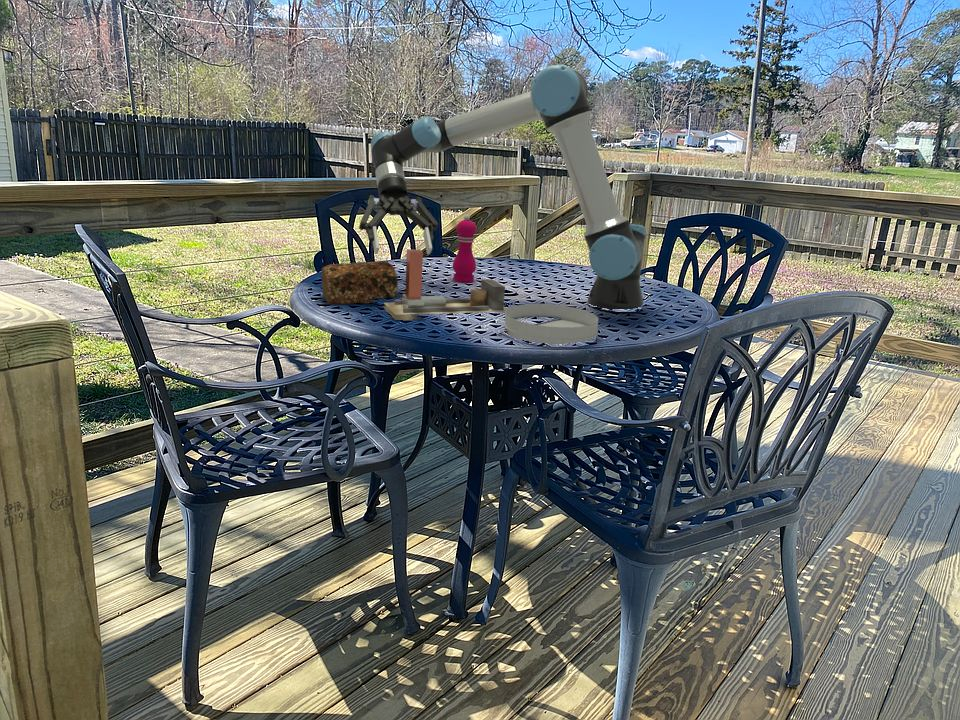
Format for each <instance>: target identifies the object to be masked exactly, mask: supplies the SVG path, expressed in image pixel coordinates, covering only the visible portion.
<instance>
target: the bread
mask: <svg viewBox="0 0 960 720" xmlns="http://www.w3.org/2000/svg"><path fill="white" fill-rule="evenodd" d="M398 286H399V283H398V274H397V273H396V269H395V267H394V265H393V264H392V263H390V262H387V261H364V262H363V261H362V262H361V261H359V262H351V263H332V264H327V265H325V266H323V267H322V268H321V289H322V296H323V297H324V300H325V301H326V302H327V304H328V305H335V304H337V305H346V304H347V305H356V303H365V304H376V302H375V301H373V300H376V299H384V298H385V299H386V298H387V299H388V298H392V299H393V298H394V299H395V298H397V294H398ZM371 300H372V301H371ZM354 303H355V304H354Z"/></svg>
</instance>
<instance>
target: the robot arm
mask: <svg viewBox="0 0 960 720" xmlns="http://www.w3.org/2000/svg"><path fill="white" fill-rule="evenodd" d="M588 97H589V87H588V84H587V81H586V79H585V78H584V77H583V75H582V74H581V73H580V72H578V71H577V70H575V69H573V68H571V67H570V66H568V65H565V64H552V65H549V66H547V67H544V68H542V69H541V70H540V72H538V73H537V75H536V76H535V77H534V80H533V82H532V85H531V88H530V90H529V91H526V92H523V93H520V94H517V95H514V96H512V97H509V98H505V99H503V100H500V101H497V102H494V103H491V104H488V105H485V106H482V107H479V108H476V109H473V110H470V111H467V112H464V113H461V114H458V115H455V116H452V117H450V118H446V119H444V120H441V121H438V122H435V120H434V119H433V118H432V117H430V116H426V115H425V116H423V117H422V118H419V119H417V120H415V121H414V122H412V123H411V124H409V125H407V126H406V127H404V128H403V129H401V130H399V131H398V132H396V133H393V132H391V131H386V130H385V131H383V132H381V131H379V132H377V133H375V135H374V136H373V137H372V138H371V140H370V147H371V149H370V151H371V152H370V153H371V157H372V162H373V167H374V174H375V179H376V185H377V191H378V198H377V197H374V195H372V194H371V195H369V198H368V202H367V206H366V209H365V212H364V214H363V215H362V218H361V220H360V223H359V227H358V229H359V230H360V231H363V230H364V231H365V233H366V235H367V239H368V241H369V242H372V246H373V251H374V252H373V253H374V255H378V254H379V251H380V242H379V237H378V231H377V225H378V224H379V223H380V221H382V219H384V218H385V217H386V216H387V214H389V215H390V216H402V215H403V216H404V217H406V218H407V219H410V220H411V221H412V222H413V223H415V224H416V225H417V226H418V227H419V228H420V229H422V231H423V233H422V236H423V240H424V245H425V250H426V251H425V252H426V254H427V255H431V252H432V251H433V244H432V242H433V241H434V237H435V236H434V233H433V232H435V231H437V229H438V225H439V223H438V221H437V220H436V219H435V218H434V216H433V215H432V213H431V212H430V211H429V210H428V209H427V208H426V206H425V205H424V204H423V201H422V198H421V197H420V196H416V198H412V199H411V198H410V197H409V192H408V187H407V182H406V178H405V173H404V172H405V171H404V166H403V164H404V163H405V162H407V161H409V160H411V159H412V158H414V157H416V156H418V155H421V154H425V153H428V154H429V153H435V154H437V153H442V152H445V151H446V150H448V149H451V148H453V147H455V146H459V145H464V144H466V143H469V142H472V141H476V140H479V139H481V138H484V137H485V138H486V137H488V136H490V135H491V136H492V135H494V134H497V133H500V132H503V131H506V130H510V129H513V128H516V127H520V126H523V125H525V124H529V123H532V122H535V121H539V120H540V121H541V122H543V123H544V127H545V129H546V131H547V133H548V132H549V133H551V134H553V135H554V136H555V140H556V142H557V144H558V147H559V149H560V153H561V157H562V159H563V161H564V165H565V167H566V170H567V173H568V175H569V179H570V182H571V184H572V187H573V190H574V192H575V196H576V199H577V201H578V204H579V207H580V210H581V213H582V216H583V218H584V221H585V224H586V228H585V231H584V234H583V237H584V239H585V242H586V246H587V248H588V253H589V254H588V256H589V257H588V259H589V264H590V267H591V269H592V271H593V272H594V273H595V274H596V278H595V280H594V282H593V285H592V287H591V290H590V292H589V294H588V296H587V297H588V298H587V304H588V303H589V304H591V305H593V306H597V307H601V308H607V309H633V308H638V307H641V306H642V305H643V306H644V299H643V295H642V294H643V293H642V288H641V283H640V281H641V280H640V279H641V270H642V263H643V256H644V247H645V241H646V238H647V234H646V227H645V226H644V225H641V224H633V223H630V221H629V218H628V217H626V216H624V215H621V213H620V210H619V208H618V204H617V202H616V199H615V196H614V194H613V191H612V188H611V185H610V181H609V179H608V175H607V173H606V171H605V167H604V163H603V161H602V159H601V155H600V152H599V149H598V147H597V144H596V141H595V139H594V135H593V132H592V129H591V127H590V124H589V120H590V117H591V115H592V113H593V112H592V110H591V106H590V102H589V100H588ZM377 205H379V206H380V207H381V208H380V209H379V211H377V213H376V214H375V215H374V217H372V219H371V220H370V221H368V220H369V218H370V216H371V213H372V212H373V210H374V209H373V208H375V207H377Z"/></svg>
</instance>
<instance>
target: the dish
mask: <svg viewBox="0 0 960 720" xmlns="http://www.w3.org/2000/svg"><path fill="white" fill-rule="evenodd" d="M504 313H505V314H504V321H503V328H505V329H506V330H503V331H504V332H505V333H507V334H508V335H510V336H512V337H514V338H518V339H521V340H524V341H529V342H540V343H548V344H565V343H576V342H584V341H588V340H591V339H593V338H595V337H596V336H597V337H598V335H597V334H599V329H598V327H599V318H598V316H597V315H595V314H594V313H592V312H590V311H588V310H586V309H585V310H584V309H580V308H577V307H573V306H567V305H559V304H548V303H525V304H518V305H513V306H510V307H508V308H507V310H506V311H505V312H504ZM525 317H526V318H528V317H547V318H557V319H553V320H548V321H543V322H539V323H534V324H533V323H528V322H524V321H521V320H517V319H518V318H519V319H520V318H525ZM504 332H503V333H504Z"/></svg>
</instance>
